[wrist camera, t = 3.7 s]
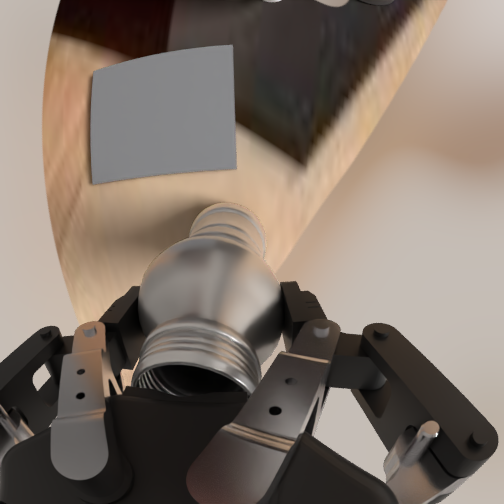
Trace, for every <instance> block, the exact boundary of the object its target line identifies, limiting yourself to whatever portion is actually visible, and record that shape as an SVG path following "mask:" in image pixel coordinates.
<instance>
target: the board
mask: <svg viewBox="0 0 504 504" xmlns="http://www.w3.org/2000/svg"><path fill="white" fill-rule="evenodd" d="M91 167H92V182H93V184H99V183H105V182H112V181H118V180H125V179H132V178H139V177H147V176H156V175H165V174H174V173H185V172H196V171H210V170H226V169H237V155H236V129H235V99H234V66H233V45H222V46H210V47H201V48H193V49H185V50H179V51H172V52H167V53H161V54H156V55H151V56H147V57H142V58H138V59H134V60H130V61H126V62H122V63H119V64H115V65H112V66H109V67H105V68H102V69H99V70H96V71H94V72H93V83H92V97H91Z"/></svg>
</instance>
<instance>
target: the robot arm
mask: <svg viewBox="0 0 504 504" xmlns="http://www.w3.org/2000/svg"><path fill="white" fill-rule="evenodd" d="M360 1H362V2H366V3H369V4H374V5H387V4H390V3H392V2H393V1H394V0H360ZM280 287H281V290H282V293H283V300H284V326H283V331H282V334H283V338H284V343H285V348H286V352H283V351H281V352H280V353H279V354H278V355H277V357H276V359H275V360H274V362H273V363H272V365H271V366H270V368H269V369H268V371H267V372H266V374H265V375H264V377H263V379H262V380H261V381H260V383H259V384H258V386H257V387H256V389H255V390H254V392H253V393H252V395H251V396H250V398H249V399H248V395H247V392H213V393H207V394H201V395H194V396H187V397H180V396H176V395H172V394H168V393H165V392H161V391H158V390H155V389H148V388H139V387H131V386H126V388H125V385H124V379H123V376H122V373H121V370H122V369H130V370H133V368H134V366H135V364H136V362H137V360H138V358H139V355H140V351H141V348H142V345H143V343H144V341H145V339H146V338H145V335H144V333H143V330H142V327H141V325H140V322H139V316H138V297H139V291H140V286H132V287H131V289H130V290H129V291H128V292H127V293H126V294H125V295H124V296H122V297H120V298H119V299H117V300H116V301H115V302H114V303H113V304H112V305H111V307H110V308H109V309H108V310H107V311H106V312H105V313H104V315H103V316H102V317H101V318H100V319H99V320H98V321H92V322H87V323H84V324H82V325H80V326H79V327H78V328H77V329H76V330H75V334H74V336H64V337H62V335H61V333H60V330H59V328H58V327H56V326H47V327H44V328H42V329H40V330H39V331H37V332H36V333H34V334H33V335H32V336H31V337H30V338H28V339H27V340H26V341H25V342H24V343H23V344H21V345H20V346H19V347H18V348H17V349H16V350H14V352H12V353H11V354H10V355H9V356H8V357H7V358H5V359H4V360H3V361H2V362H1V363H0V504H436V503H439V502H441V501H442V500H443V499H445V498H446V497H447V496H449V494H451V493H452V492H454V491H455V490H456V489H457V488H458V487H459V486H460V485H462V484H463V483H464V482H465V481H466V480H467V479H468V478H469V477H471V476H472V475H473V474H474V473H475V472H476V471H477V470H478V469H479V468H480V467H481V466H482V465H483V464H484V463H485V462H486V461H487V460H488V459H489V458H490V457H491V456H492V455H493V453H494V452H495V450H496V449H497V446H498V434H497V432H496V430H495V428H494V427H493V426H492V425H491V424H490V423H489V422H488V421H487V419H486V418H485V417H484V416H483V415H482V414H481V413H480V412H479V411H478V410H477V409H476V408H475V407H474V406H473V405H472V404H471V402H470V401H469V400H468V399H467V398H466V397H465V396H464V395H463V394H462V393H461V392H460V391H459V390H458V389H457V388H456V387H455V386H454V385H453V384H452V383H451V382H450V381H449V380H448V379H447V378H446V377H445V376H444V375H443V374H442V373H441V372H440V371H439V370H438V369H437V368H436V367H435V366H434V365H433V364H432V363H431V362H430V361H429V360H428V359H427V358H426V357H425V356H424V355H423V354H422V353H421V352H420V351H419V350H418V349H416V347H415V346H413V345H412V344H411V343H410V342H409V341H408V340H407V339H406V338H405V337H404V336H403V335H402V334H401V333H400V332H399V331H398V330H397V329H395V328H394V327H392V326H390V325H387V324H383V323H373V324H370V325H367V326H366V327H365V328H364V329H363V333H362V335H356V334H346V333H342V332H340V331H341V330H340V327H339V325H338V324H337V323H335V322H333V321H330V320H327V317H326V315H325V314H324V312H323V310H322V308H321V306H320V304H319V302H318V300H317V299H316V296H315V295H314V294H312V293H310V292H309V291H300V289H299V286H298V284H297V282H296V281H293V282H280ZM43 364H45V366H46V368H47V370H48V371H49V373H50V375H51V377H50V378H49V379H48V380H47V382H45V384H44V385H43V386H42V387H41V388H40V389H39V391H37V390H36V388H35V386H34V384H33V375H34V373H35V372H36V371H37V370H38V369H39V368H40V367H41V366H42V365H43ZM331 387H335V388H347V389H351V392H352V393H353V395H354V397H355V398H356V400H357V401H358V403H359V405H360V406H361V408H362V409H363V411H364V413H365V414H366V416H367V418H368V419H369V421H370V423H371V424H372V426H373V427H374V429H375V431H376V432H377V434H378V436H379V437H380V439H381V441H382V442H383V444H384V445H385V447H386V449H387V450H388V452H389V453H388V455H387V456H386V458H385V460H384V466H383V467H384V471H385V474H386V484H385V483H384V482H383V481H381V480H380V479H378V478H376V477H375V476H373V475H371V474H369V473H368V472H366V471H364V470H363V469H361V468H359V467H358V466H356V465H355V464H353V463H351V462H350V461H348V460H347V459H345V458H344V457H342V456H341V455H339V454H337V453H336V452H335V451H333V450H332V449H330V448H329V447H327V446H326V445H324V444H323V443H321V442H320V441H319V440H317V439H316V438H314V434H315V431H316V428H317V425H318V421H319V419H320V416H321V413H322V410H323V408H324V405H325V402H326V399H327V396H328V393H329V391H330V388H331ZM56 417H57V418H56ZM55 418H56V419H55ZM51 423H52V424H51ZM50 424H51V427H49V426H50ZM48 427H49V428H48Z"/></svg>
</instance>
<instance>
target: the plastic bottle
mask: <svg viewBox="0 0 504 504" xmlns="http://www.w3.org/2000/svg"><path fill="white" fill-rule="evenodd" d="M266 245H267V239H266V233H265V230H264V227H263V225H262V223H261V222H260V220H259V219H258V218H257V216H256V215H255V214H254V213H253V212H251V211H250V210H249V209H247V208H245V207H243V206H241V205H238V204H235V203H226V202H224V203H217V204H214V205H211V206H209V207H207V208H206V209H204V210H203V211H202V212H201V213H200V214H198V216H197V217H196V218H195V220H194V222H193V224H192V226H191V229H190V232H189V237H188V238H186V239H184V240H181V241H179V242H177V243H175V244H174V245H172V246H170V247H169V248H167V249H166V250H165V251H163V252H162V253H160V254H159V255H158V256H157V257H156V258H155V259H154V260H153V261H152V262H151V264H150V265H149V267H148V269H147V270H146V272H145V274H144V276H143V279H142V282H141V286H140V291H139V297H138V316H139V322H140V325H141V327H142V330H143V333H144V335H145V338H146V339H145V341H144V343H143V345H142V348H141V351H140V355H139V362H138V365H137V367H136V369H135V371H134V373H133V377H132V381H131V387H139V388H148V389H155V390H158V391H161V392H165V393H168V394H172V395H176V396H180V397H187V396H194V395H201V394H207V393H213V392H247V395H248V399H249V398H250V396H251V395H252V393H253V392H254V390H255V389H256V387H257V386H258V384H259V383H260V381H261V377H262V376H261V365H262V364H263V363H264V362H265V361H266V360H267V359H268V358H269V357H270V356H271V355H272V353H273V351H274V350H275V348H276V347H277V345H278V342H279V340H280V337H281V333H282V331H283V326H284V300H283V293H282V290H281V287H280V285H279V283H278V281H277V278H276V276H275V275H274V273H273V271H272V270H271V268H270V266H269V265H268V264H267V263H266V261H265V260H264V256H265V253H266Z"/></svg>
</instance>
